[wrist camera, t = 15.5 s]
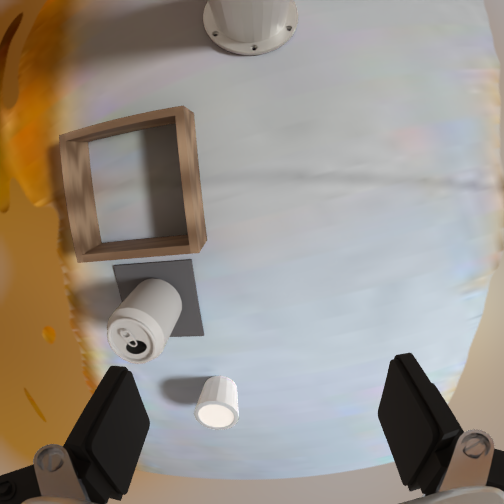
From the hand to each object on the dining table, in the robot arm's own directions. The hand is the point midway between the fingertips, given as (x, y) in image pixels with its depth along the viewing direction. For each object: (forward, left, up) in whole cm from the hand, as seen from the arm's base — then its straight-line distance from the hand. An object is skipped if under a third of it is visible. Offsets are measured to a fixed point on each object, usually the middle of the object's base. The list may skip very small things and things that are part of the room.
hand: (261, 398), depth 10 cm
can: (+10, -15, -32) cm, 37 cm away
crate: (-7, -16, -32) cm, 36 cm away
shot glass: (+27, -9, -33) cm, 43 cm away
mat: (+10, -16, -32) cm, 37 cm away
